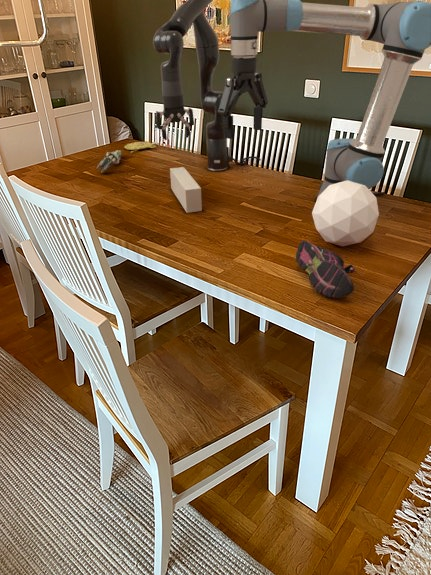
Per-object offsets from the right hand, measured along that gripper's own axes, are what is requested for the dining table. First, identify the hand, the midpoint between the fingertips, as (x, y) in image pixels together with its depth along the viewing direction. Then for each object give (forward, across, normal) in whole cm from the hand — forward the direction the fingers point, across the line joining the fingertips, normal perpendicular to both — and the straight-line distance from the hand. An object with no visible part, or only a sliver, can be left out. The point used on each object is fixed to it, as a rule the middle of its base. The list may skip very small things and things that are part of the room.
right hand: (243, 133), depth 137 cm
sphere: (+30, +10, -32) cm, 46 cm away
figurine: (+30, +11, +93) cm, 99 cm away
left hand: (+9, +8, +41) cm, 43 cm away
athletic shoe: (+30, -13, -42) cm, 53 cm away
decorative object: (+30, +40, +107) cm, 118 cm away
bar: (+30, +4, +33) cm, 45 cm away
